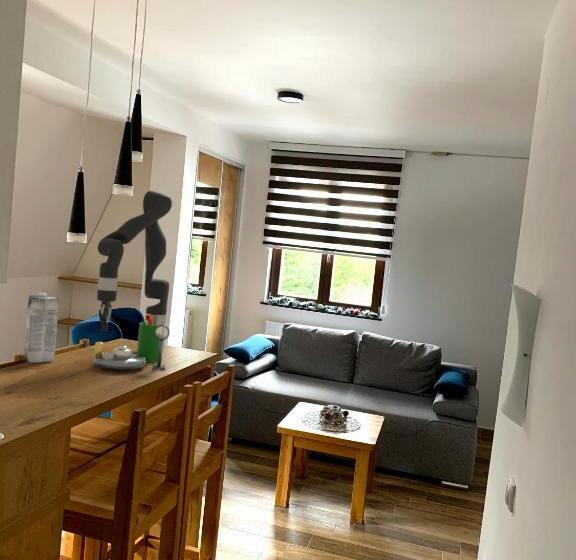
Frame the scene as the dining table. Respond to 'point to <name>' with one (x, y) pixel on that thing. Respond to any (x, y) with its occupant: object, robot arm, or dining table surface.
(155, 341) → the green bottle
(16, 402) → the dining table surface
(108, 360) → the turntable
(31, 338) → the juice carton
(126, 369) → the turntable base
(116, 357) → the cover
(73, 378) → the dining table surface
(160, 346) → the metal disc on rod
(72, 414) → the dining table surface
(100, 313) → the robot arm
